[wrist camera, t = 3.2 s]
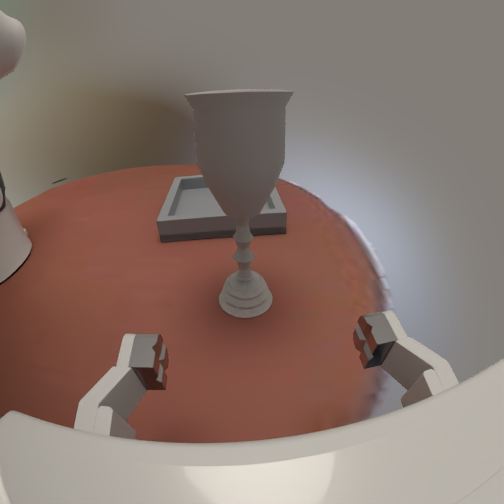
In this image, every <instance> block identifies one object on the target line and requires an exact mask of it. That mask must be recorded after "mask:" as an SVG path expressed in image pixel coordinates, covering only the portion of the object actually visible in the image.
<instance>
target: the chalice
mask: <svg viewBox="0 0 504 504" xmlns="http://www.w3.org/2000/svg"><path fill="white" fill-rule="evenodd" d="M293 92H294V91H289V90H270V89H241V90H220V91H209V92H199V93H191V94H185V97H186V99H187V101H188V102H189V104H190V106H191V107H192V109H193V116H194V130H195V142H196V154H197V164H198V166H199V169H200V171H201V173H202V175H203V178H204V180H205V182H206V184H207V186H208V188H209V190H210V191H211V193H212V194H213V196H214V198H215V199H216V201H217V202H218V204H219V206H220V207H221V209H222V210H223V212H224V213H225V214H226V215H227V216H229V217H232V218H235V219H236V222H237V227H236V233H235V234H234V235H233V239H234V240H235V241H236V243H237V245H238V249H237V252H236V253H235V254H234V255H233V258H234V259H235V260H236V261H237V262H238V265H239V271H236V272H234V273H233V274H231V275H230V276H229V277H228V278H227V279H226V281H225V285H224V286H223V289H222V291H221V293H220V296H219V304H220V306H221V307H222V309H223V310H224V311H225V312H227V313H228V314H230V315H232V316H235V317H240V318H250V317H256V316H258V315H261V314H263V313H264V312H265V311H267V310H268V309H269V307H270V306H271V304H272V299H273V297H272V294H271V292H270V290H269V289H268V286H267V284H266V283H265V280H264V279H263V277H262V276H261V275H259V274H258V273H257V272H255V271H252V270H250V263H251V261H252V260H253V259H254V257H255V256H254V254H253V253H252V252H251V251H250V249H249V245H250V242H251V241H252V239H253V235H252V234H251V233H250V229H249V225H248V223H249V218H252V217H255V216H257V215H258V214H259V213H260V212H261V211H262V209H263V207H264V205H265V203H266V202H267V200H268V198H269V196H270V194H271V193H272V191H273V189H274V187H275V185H276V183H277V180H278V177H279V175H280V172H281V170H282V167H283V165H284V159H285V107H286V105H287V103H288V101H289V100H290V98H291V96H292V94H293Z"/></svg>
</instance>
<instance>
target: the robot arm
mask: <svg viewBox="0 0 504 504" xmlns="http://www.w3.org/2000/svg"><path fill="white" fill-rule="evenodd" d="M25 45H26V34H25V30H24V27H23V25H22V24H21V23H20V22H19V21H17V20H16V19H13V18H11V17H9V16H7V15H5V14H4V13H3V12H2V11H1V10H0V79H2V78H4V77H5V76H7V75H8V74H10V73H12V72H13V71H14V70H15V68H16V67H17V65H18V64H19V62H20V60H21V58H22V56H23V53H24V50H25ZM31 247H32V243H31V241H30V240H29V238H28V233H27V231H26V229H25V228H24V229H23V228H22V226H21V224H20V222H19V220H18V217H17V215H16V213H15V211H14V209H13V207H12V205H11V202H10V200H9V199H8V198H7V197H6V196H5V186H4V183H3V177H2V176H1V173H0V283H1V282H2V281H4V280H5V279H6V278H7V277H9V276H10V275H11V274H12V273H13V272H14V271H15V270H16V269H17V268H18V267H19V266H20V265H21V264H22V263H23V262H24V260H25V259H26V258H27V256H28V255H29V253H30V251H31ZM358 324H359V325H358V326H357V327H356V328H355V330H354V333H353V341H354V345H355V347H356V349H357V350H358V351H360V352H361V353H360V356H359V358H360V360H361V362H362V365H363V368H364V369H367V368H371V367H376V366H380V365H381V367H382V368H383V369H384V370H385V371H386V372H388V373H389V374H390V375H391V376H392V377H393V378H394V379H395V380H397V381H398V382H399V383H400V384H401V385H402V386H403V387H405V388H406V389H407V390H408V391H407V392H406V393H405V394H404V396H403V397H402V398H401V402H402V405H403V408H401V409H398V410H395V411H392V412H389V413H386V414H383V415H380V416H377V417H374V418H370V419H367V420H363V421H360V422H356V423H353V424H349V425H345V426H341V427H337V428H332V429H328V430H323V431H318V432H313V433H308V434H302V435H296V436H290V437H283V438H275V439H267V440H257V441H246V442H230V443H172V442H156V441H145V440H136V439H135V432H136V431H135V430H134V428H132V427H131V426H130V425H129V424H128V423H127V422H126V420H127V418H128V417H129V416H130V414H131V413H132V411H133V410H134V409H135V407H136V406H137V404H138V403H139V402H140V400H141V399H142V397H143V396H144V395H145V393H146V392H147V390H166V384H167V375H166V373H165V370H166V369H167V368H168V363H169V359H168V351H167V348H166V346H165V345H163V344H162V343H163V338H162V336H161V334H125V335H124V337H123V340H122V344H121V348H120V352H119V356H118V360H117V365H116V367H112V368H111V369H110V370H109V371H108V372H107V373H106V374H105V375H104V376H103V377H102V378H101V379H100V380H99V382H98V383H97V384H96V385H95V386H94V387H93V388H92V389H91V390H90V391H89V392H88V393H87V394H86V395H85V396H84V397H83V398H82V399H81V400H80V402H79V406H78V410H77V415H76V420H75V425H74V429H73V428H69V427H65V426H61V425H58V424H54V423H51V422H47V421H44V420H41V419H37V418H34V417H31V416H29V415H26V414H23V413H20V412H17V411H9V412H8V413H6V414H5V415H4V416H3V417H2V418H1V419H0V504H504V359H502V360H500V361H498V362H497V363H495V364H493V365H492V366H490V367H488V368H487V369H485V370H483V371H481V372H480V373H478V374H476V375H474V376H472V377H471V378H469V379H467V380H465V381H463V382H461V383H459V382H458V380H457V378H456V377H455V375H454V373H453V371H452V369H451V367H450V365H449V363H448V362H447V361H446V360H445V359H443V358H442V357H440V356H439V355H437V354H436V353H434V352H432V351H431V350H429V349H428V348H426V347H425V346H423V345H422V344H420V343H419V342H417V341H416V340H414V339H413V338H411V337H409V338H408V337H407V335H406V333H405V331H404V330H403V328H402V326H401V324H400V323H399V321H398V319H397V317H396V315H395V314H394V312H393V311H391V310H390V311H385V312H378V313H373V314H368V315H363V316H360V317H359V319H358Z"/></svg>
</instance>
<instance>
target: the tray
mask: <svg viewBox="0 0 504 504" xmlns="http://www.w3.org/2000/svg"><path fill="white" fill-rule="evenodd" d="M286 219H287V212H286V209H285V207H284V205H283V203H282V201H281V199H280V196H279V194H278V192H277V190H276V188H275V187H274V189H273V191H272V193H271V194H270V196H269V198H268V200H267V202H266V203H265V205H264V207H263V209H262V211H261V212H260V213H259V214H258V215H257V216H255V217H252V218H249V223H248V225H249V229H250V233H251V234H252V235H266V234H283V233H286ZM157 225H158V230H159V235H160V239H161V242H167V241H180V240H193V239H207V238H221V237H233V235H234V234H235V233H236V227H237V222H236V219H235V218H232V217H229V216H227V215H226V214H225V213H224V212H223V210H222V209H221V207H220V206H219V204H218V202H217V201H216V199H215V198H214V196H213V194H212V193H211V191H210V190H209V188H208V186H207V184H206V182H205V180H204V178H203V175H195V176H185V177H175V179H174V182H173V184H172V186H171V188H170V191H169V193H168V195H167V198H166V200H165V202H164V205H163V207H162V210H161V212H160V215H159V217H158V219H157Z"/></svg>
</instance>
